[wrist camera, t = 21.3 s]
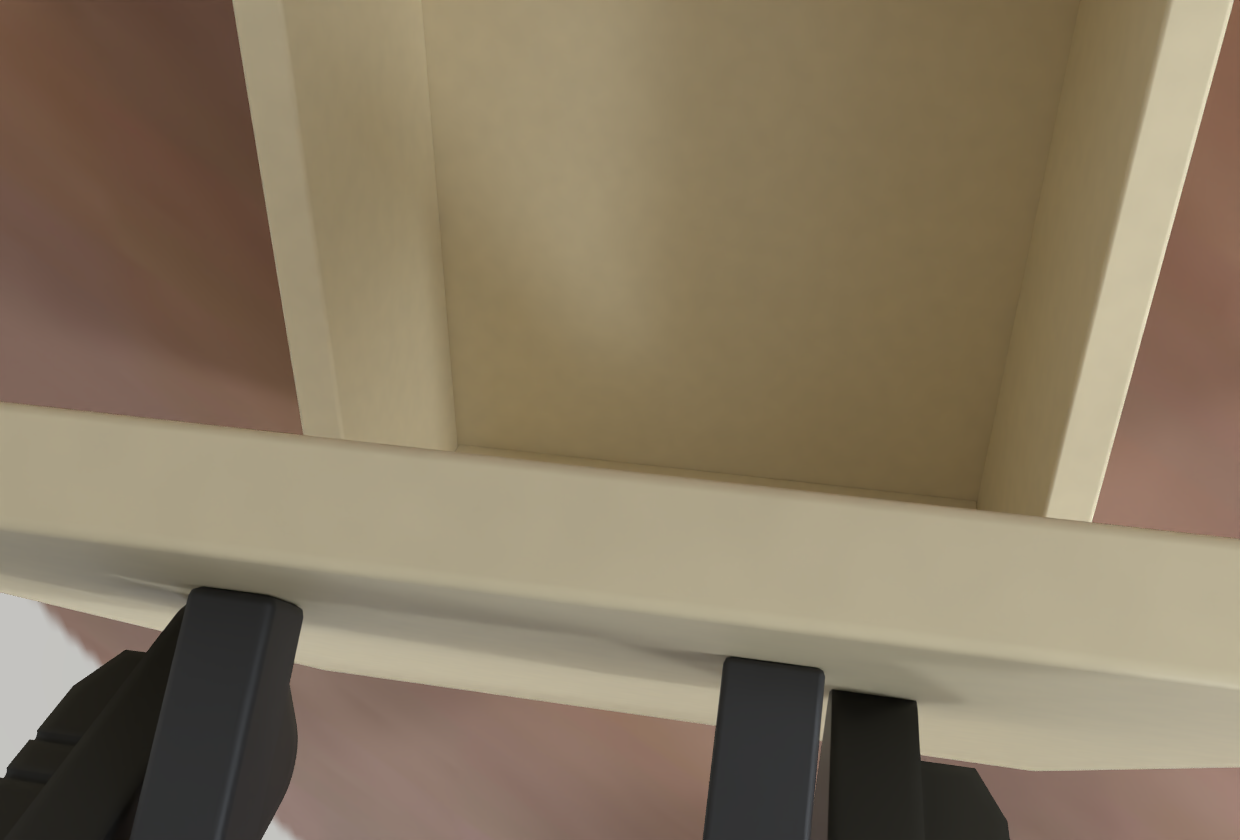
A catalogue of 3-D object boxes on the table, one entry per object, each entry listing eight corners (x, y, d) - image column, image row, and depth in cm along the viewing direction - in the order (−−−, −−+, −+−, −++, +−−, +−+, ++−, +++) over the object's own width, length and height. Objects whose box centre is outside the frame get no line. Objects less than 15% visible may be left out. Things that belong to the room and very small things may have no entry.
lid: (-532, 339, 8) (-897, 1183, 7) (1769, 592, 6) (1927, 1896, 4) (329, 629, 24) (274, 896, 22) (1039, 726, 21) (1026, 1027, 20)
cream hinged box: (372, -279, 21) (187, -262, 15) (1177, -269, 19) (1302, -245, 13) (439, 449, 29) (334, 633, 24) (1004, 512, 27) (1036, 730, 22)
